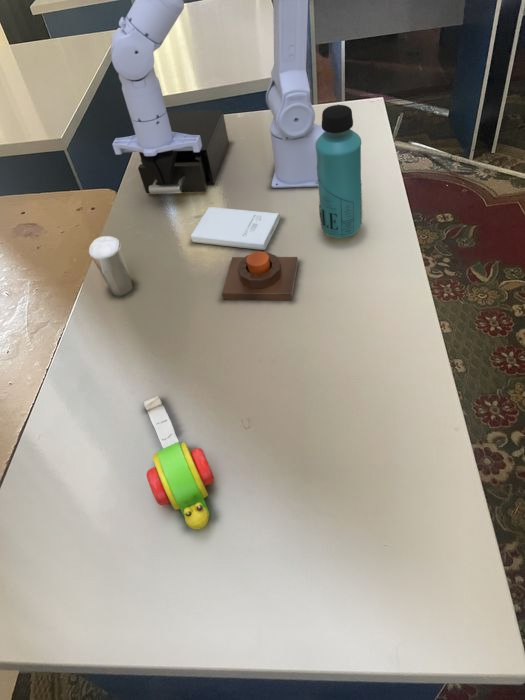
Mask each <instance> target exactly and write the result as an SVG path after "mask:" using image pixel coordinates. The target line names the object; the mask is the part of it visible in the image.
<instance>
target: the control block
mask: <svg viewBox="0 0 525 700" xmlns="http://www.w3.org/2000/svg"><path fill="white" fill-rule="evenodd" d="M264 252H265V253H267V254H268V256H269V261H270V269H269V271H268V272H266V273H263V274H251V273H250V272H249V270H248V265H247V257H248V256H249V255H250V254H248V255H246V256H232V258H231V260H230V264H229V267H228V270H227V275H226V278H225V282H224V285H223V289H222V292H221V295H222V298H223V300H225V301H226V300H229V301H230V300H231V301H235V300H237V301H242V300H243V301H244V300H245V301H292V300H293V298H294V297H293V296H294V291H295V286H296V285H295V284H296V278H297V273H298V267H299V259H298V256H278V255H275V254H273V253H272V252H271V253H270V252H267V251H264Z"/></svg>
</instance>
